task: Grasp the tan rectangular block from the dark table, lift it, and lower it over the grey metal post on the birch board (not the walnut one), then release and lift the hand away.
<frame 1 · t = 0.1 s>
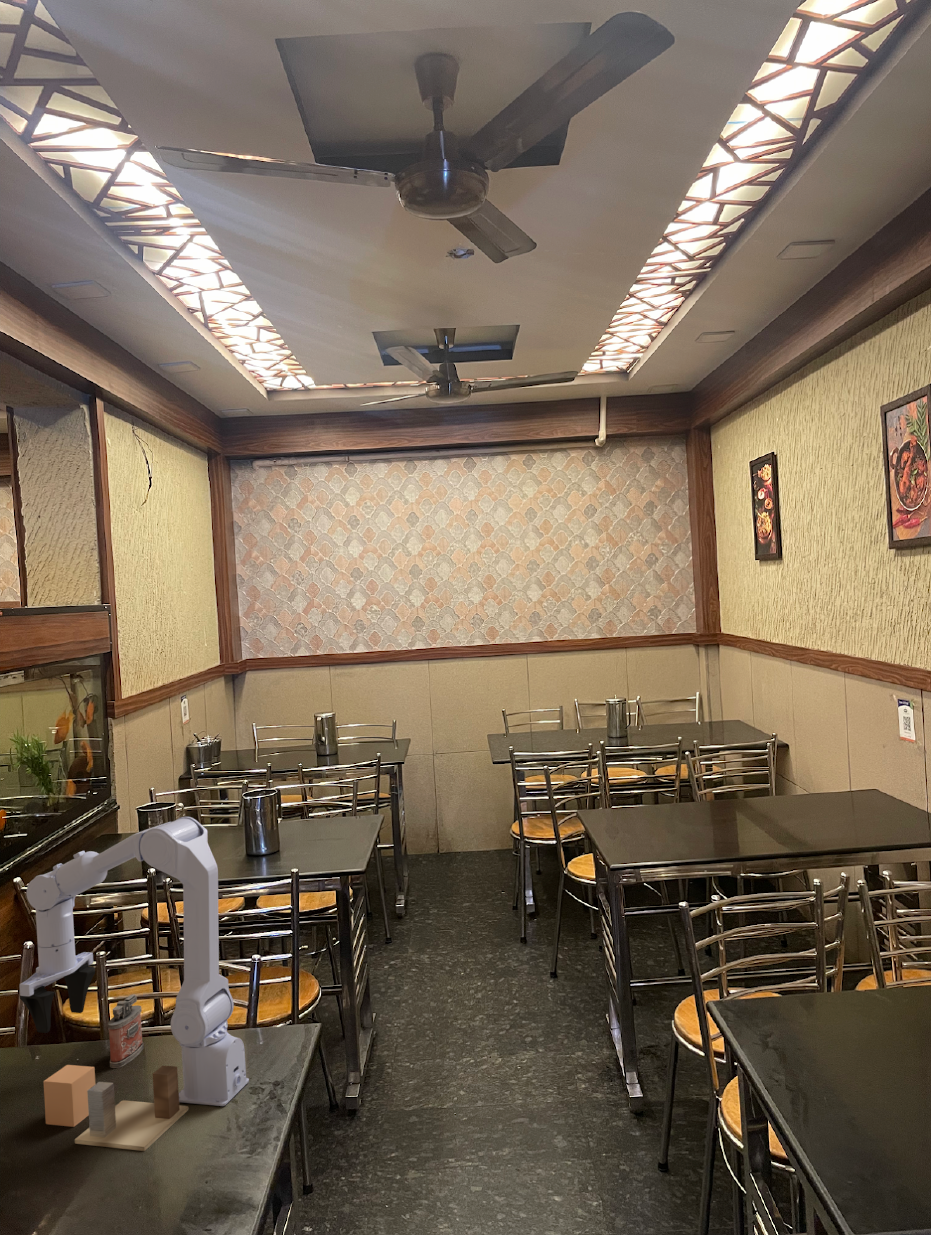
hand: (60, 1021, 150), 10 cm above the table, fingers open, 7 cm apart
tan rectangular block: (71, 1116, 138), on the table
lighter: (127, 1057, 157), on the table
board: (133, 1126, 134), on the table
post: (103, 1135, 132), resting on board
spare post: (167, 1117, 136), resting on board
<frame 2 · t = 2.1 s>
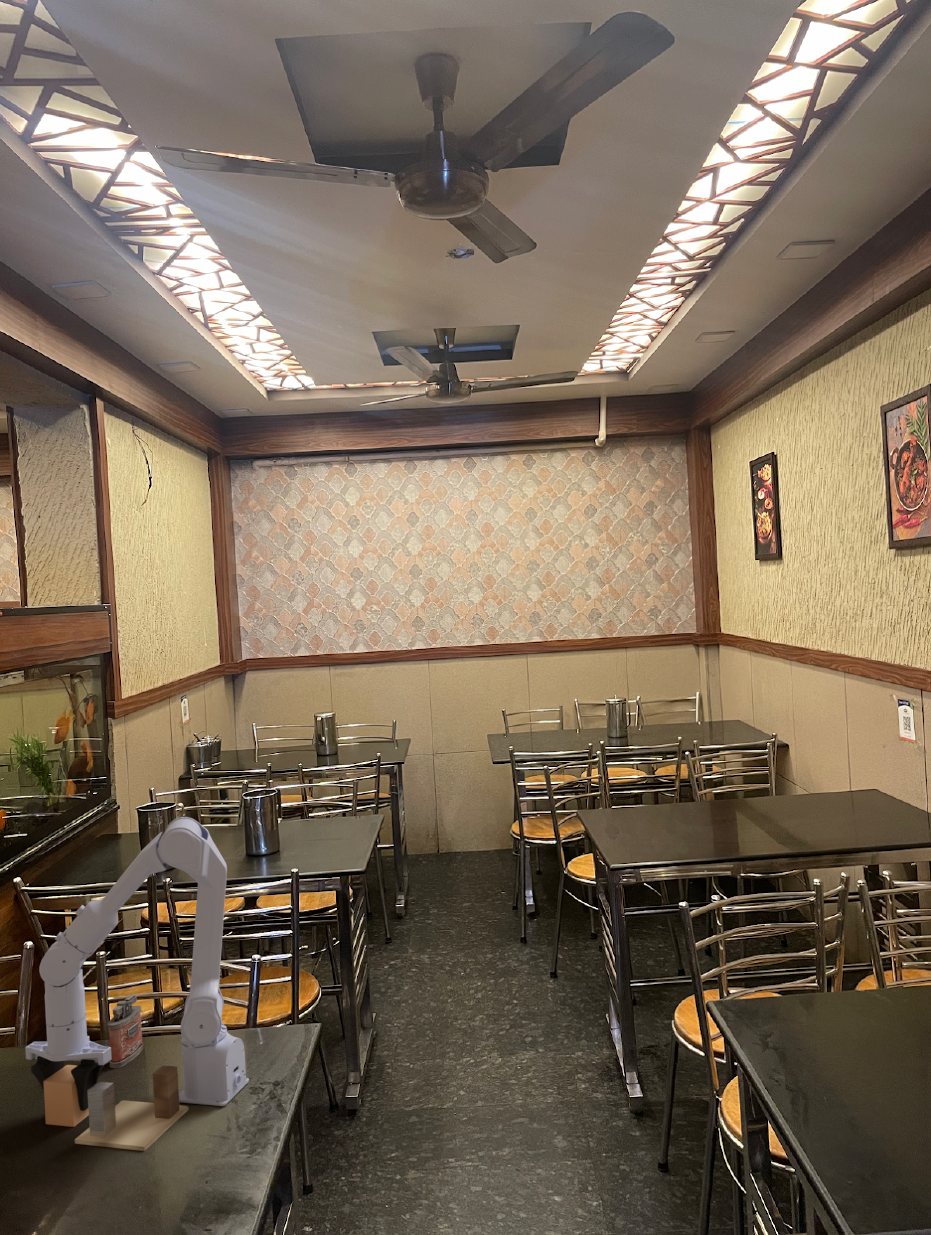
hand: (71, 1105, 138), 2 cm above the table, fingers closed on tan rectangular block, 5 cm apart
tan rectangular block: (71, 1116, 138), on the table, touching gripper
everything else where it was.
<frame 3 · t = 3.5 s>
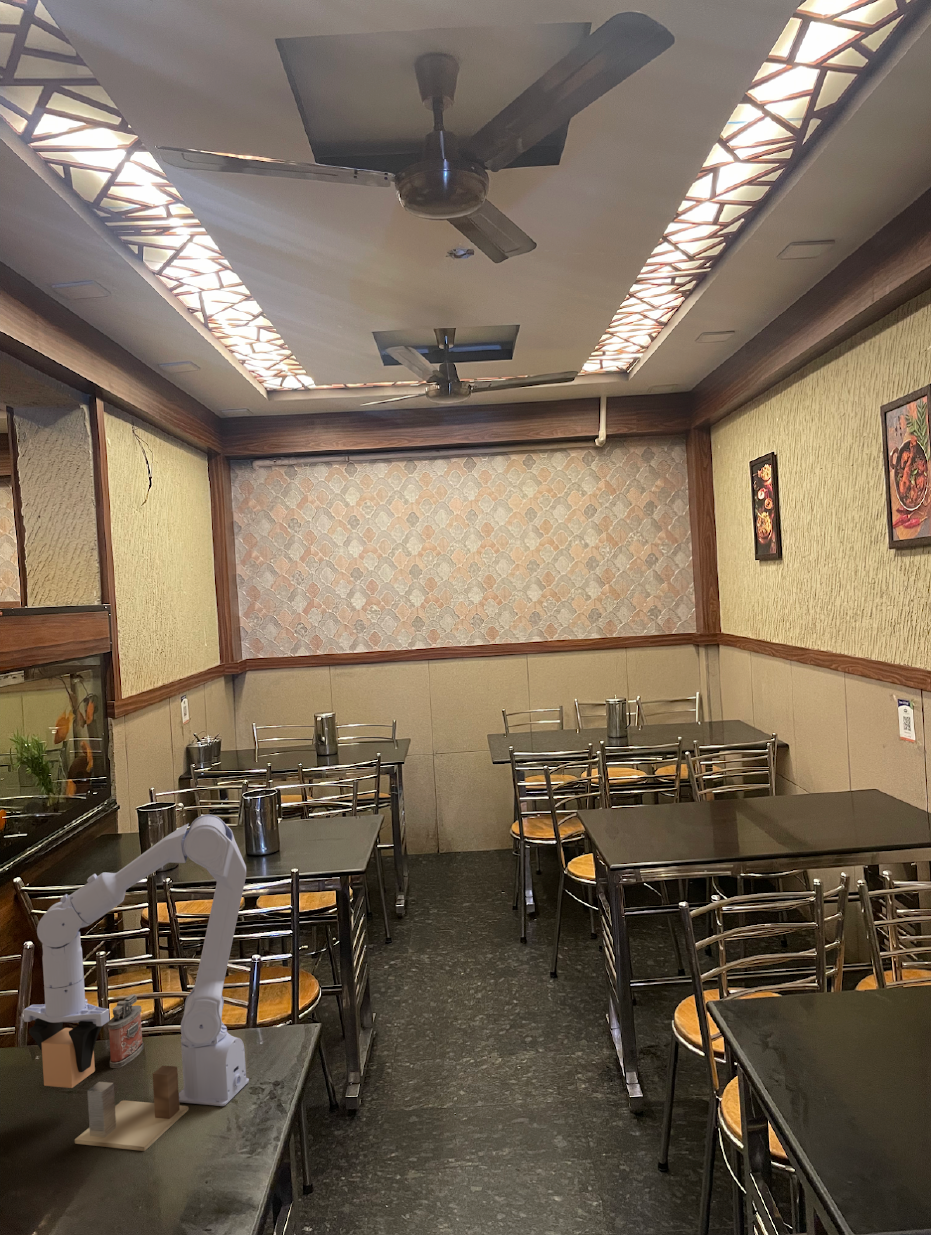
hand: (69, 1067, 138), 8 cm above the table, fingers closed on tan rectangular block, 5 cm apart
tan rectangular block: (69, 1078, 138), point 6 cm above the table, touching gripper
everything else where it was.
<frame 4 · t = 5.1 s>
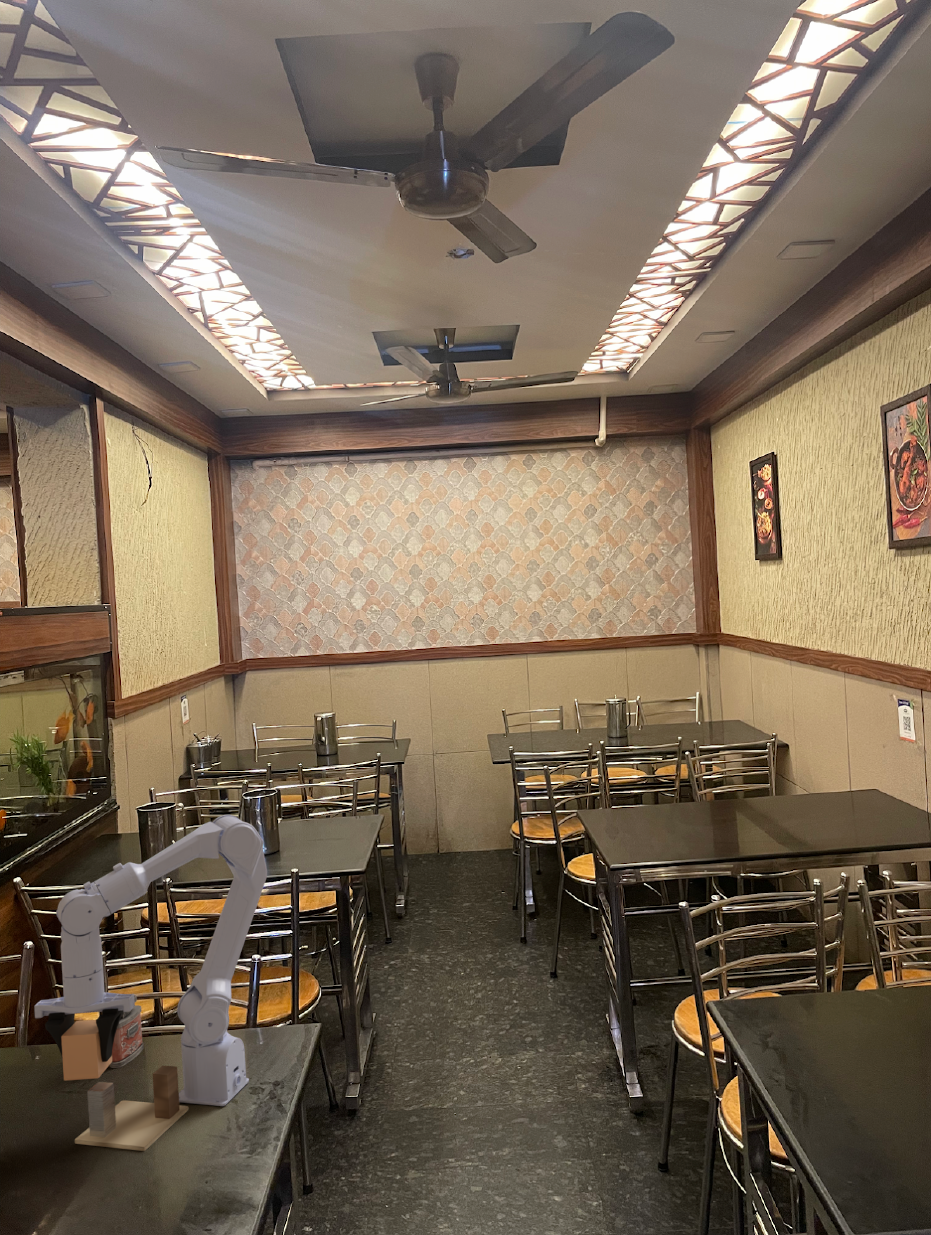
hand: (88, 1060, 134), 10 cm above the table, fingers closed on tan rectangular block, 5 cm apart
tan rectangular block: (88, 1070, 134), point 9 cm above the table, touching gripper
everything else where it was.
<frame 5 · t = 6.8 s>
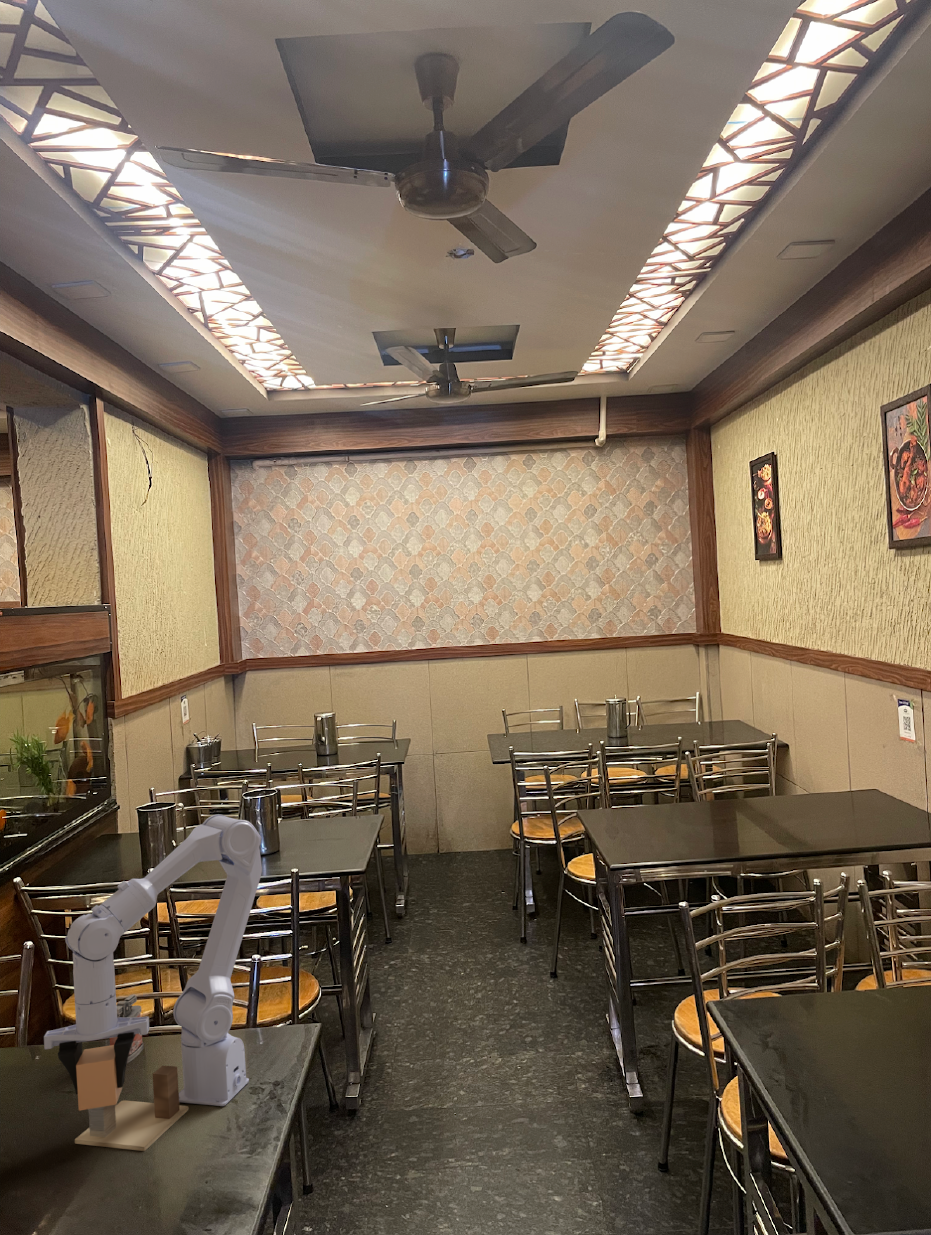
hand: (100, 1087, 132), 7 cm above the table, fingers closed on tan rectangular block, 5 cm apart
tan rectangular block: (101, 1098, 132), point 6 cm above the table, touching gripper
everything else where it was.
when the fingers open (3 cm above the table, at t = 8.1 s): tan rectangular block stays where it is, resting on post.
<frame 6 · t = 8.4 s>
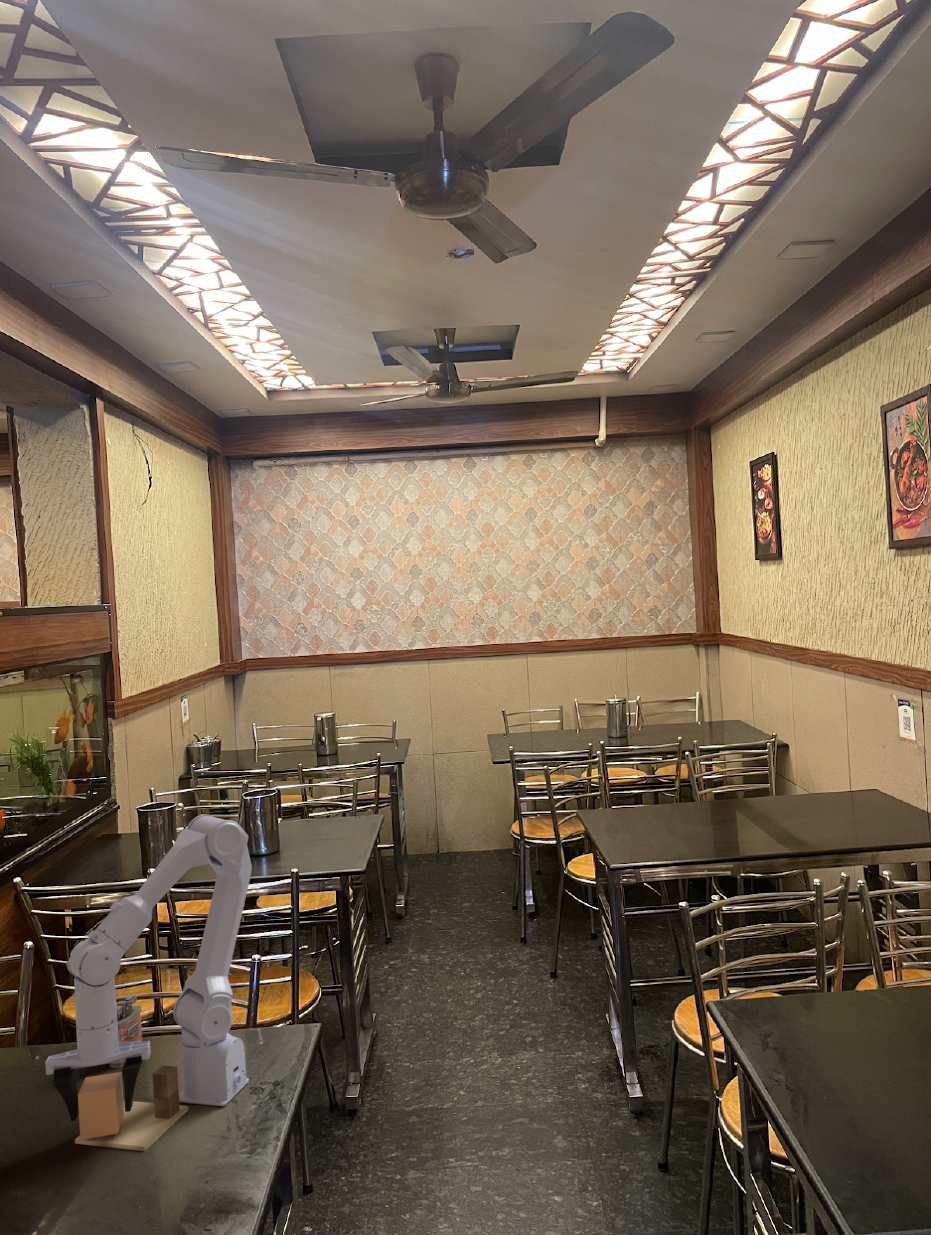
hand: (102, 1112, 132), 3 cm above the table, fingers open, 7 cm apart
tan rectangular block: (102, 1127, 132), point 1 cm above the table, touching post
everything else where it was.
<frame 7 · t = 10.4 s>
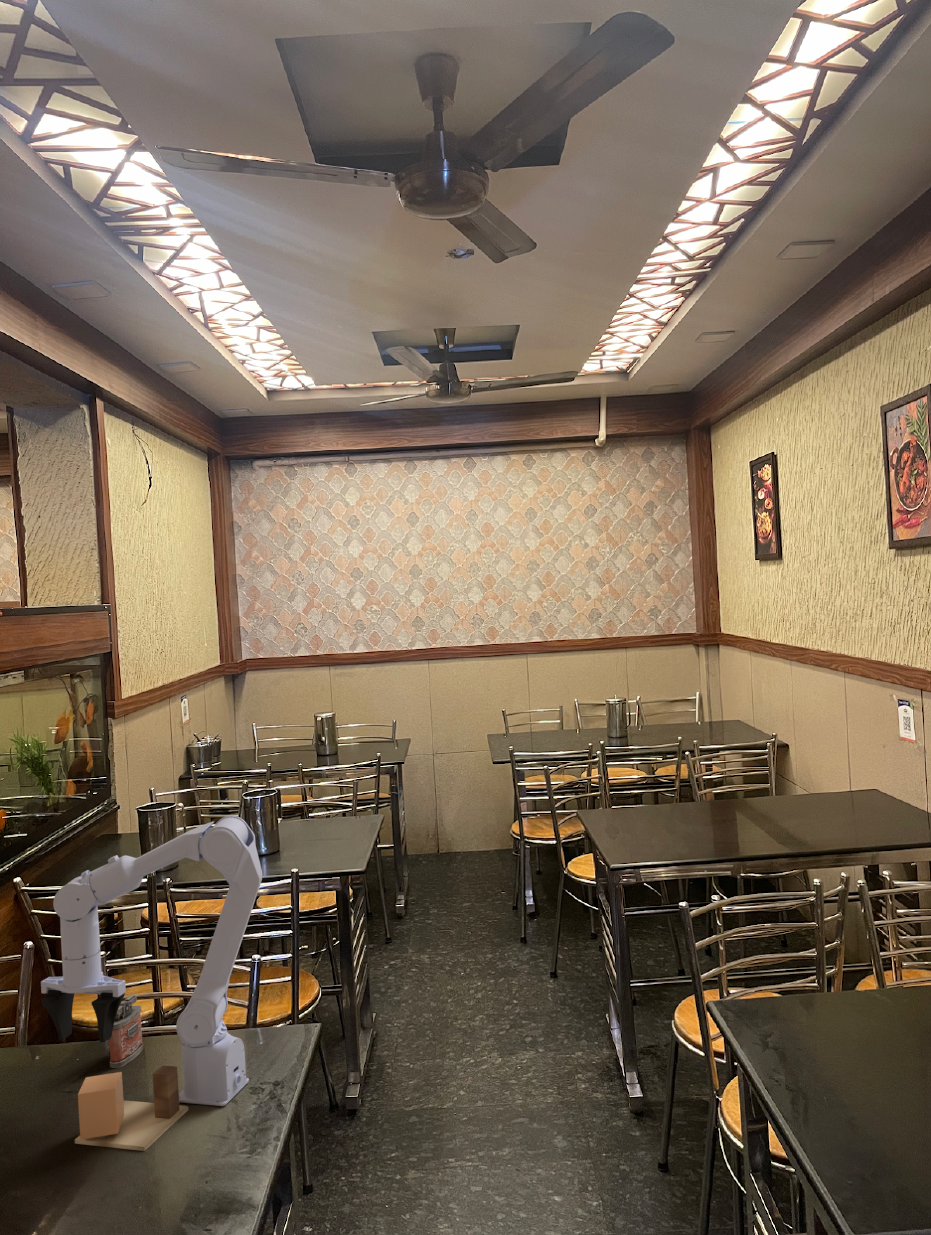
hand: (85, 1038, 142), 10 cm above the table, fingers open, 7 cm apart
nothing on the table moved.
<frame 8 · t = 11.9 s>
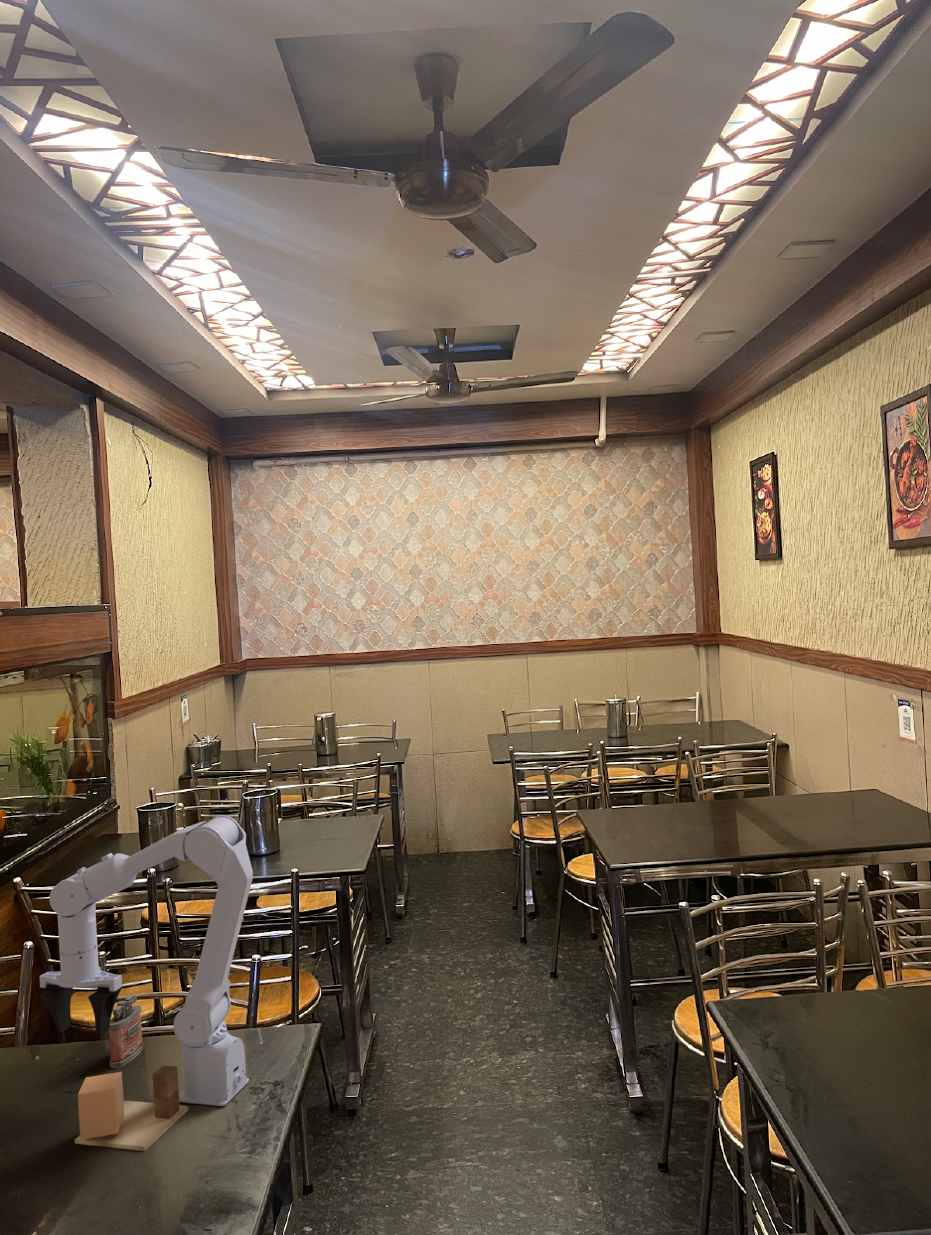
hand: (83, 1031, 144), 10 cm above the table, fingers open, 7 cm apart
nothing on the table moved.
at the end: tan rectangular block 0.0 cm from the post (horizontally); tan rectangular block point 1.3 cm above the table; the gripper is holding nothing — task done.
